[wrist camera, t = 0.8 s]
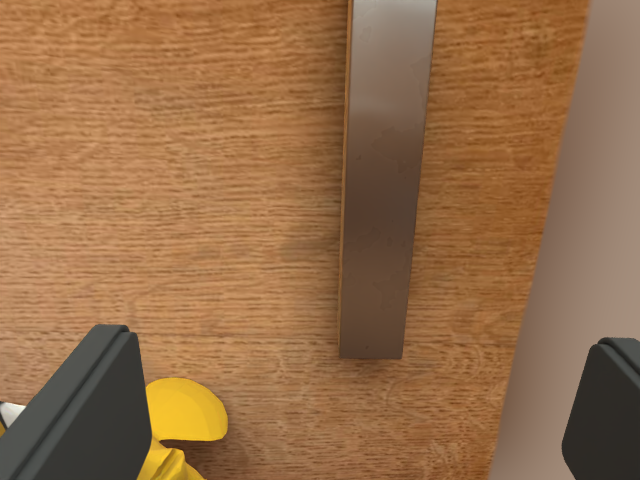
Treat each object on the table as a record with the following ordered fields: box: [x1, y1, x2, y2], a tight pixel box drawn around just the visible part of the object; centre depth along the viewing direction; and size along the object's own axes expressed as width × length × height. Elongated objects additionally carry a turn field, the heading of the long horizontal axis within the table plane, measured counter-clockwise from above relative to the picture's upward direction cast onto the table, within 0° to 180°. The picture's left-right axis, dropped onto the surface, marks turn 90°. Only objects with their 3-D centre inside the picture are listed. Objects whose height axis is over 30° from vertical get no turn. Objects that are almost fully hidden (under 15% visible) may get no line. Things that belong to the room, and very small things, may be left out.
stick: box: [337, 0, 438, 359], centre depth 20 cm, size 16×3×3 cm, turn 179°
